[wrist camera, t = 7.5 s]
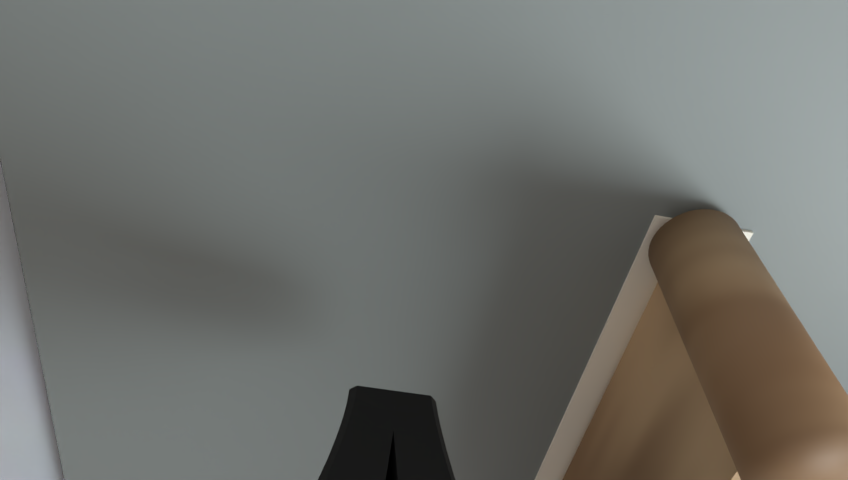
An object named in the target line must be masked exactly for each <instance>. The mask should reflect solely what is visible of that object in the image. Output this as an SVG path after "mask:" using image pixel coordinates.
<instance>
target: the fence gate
mask: <svg viewBox="0 0 848 480" xmlns="http://www.w3.org/2000/svg"><path fill="white" fill-rule="evenodd" d="M648 257H649V262H650V264H651V267H652V269H653V272H654V274H655V276H656V279H657V281H658V283H657V285H656V287H655V289H654V291H653V293H652V295H651V297H650V299H649V302H648V304H647V306H646V308H645V310H644V312H643V314H642V316H641V318H640V320H639V322H638V324H637V326H636V328H635V330H634V333H633V335H632V337H631V339H630V341H629V343H628V345H627V347H626V349H625V351H624V353H623V355H622V357H621V359H620V362H619V364H618V366H617V368H616V370H615V372H614V374H613V376H612V378H611V380H610V382H609V384H608V386H607V388H606V391H605V393H604V395H603V397H602V399H601V401H600V403H599V405H598V407H597V409H596V411H595V413H594V415H593V417H592V419H591V422H590V424H589V426H588V428H587V430H586V432H585V434H584V436H583V438H582V440H581V442H580V444H579V446H578V448H577V451H576V453H575V455H574V457H573V459H572V461H571V463H570V465H569V467H568V469H567V471H566V473H565V475H564V477H563V480H848V395H847V393H846V392H845V390H844V389H843V387H842V386H841V384H840V382H839V381H838V379H837V378H836V376H835V375H834V373H833V371H832V370H831V368H830V367H829V365H828V364H827V362H826V361H825V359H824V357H823V356H822V354H821V353H820V351H819V350H818V348H817V347H816V345H815V343H814V342H813V340H812V339H811V337H810V336H809V334H808V333H807V331H806V329H805V328H804V326H803V325H802V323H801V322H800V320H799V319H798V317H797V315H796V314H795V312H794V311H793V309H792V308H791V306H790V305H789V303H788V301H787V300H786V298H785V297H784V295H783V294H782V292H781V291H780V289H779V287H778V286H777V284H776V283H775V281H774V280H773V278H772V277H771V275H770V273H769V272H768V270H767V269H766V267H765V266H764V264H763V263H762V261H761V259H760V258H759V256H758V255H757V253H756V252H755V250H754V249H753V247H752V245H751V244H750V242H749V241H748V239H747V238H746V236H745V235H744V233H743V231H742V230H741V228H740V227H739V225H738V224H737V222H736V221H735V220H734V219H733V218H732V217H730V216H729V215H727V214H725V213H723V212H720V211H717V210H711V209H699V210H693V211H688V212H685V213H682V214H680V215H678V216H676V217H674V218H672V219H670V220H669V221H668V222H666V223H665V224H664V225H663V226H662V227H661V228H660V229H659V230H658V231H657V232H656V233H655V235H654V236H653V238H652V240H651V243H650V245H649V250H648Z"/></svg>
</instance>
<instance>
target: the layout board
mask: <svg viewBox="0 0 848 480" xmlns="http://www.w3.org/2000/svg"><path fill="white" fill-rule="evenodd" d="M0 160H1V165H2V170H3V175H4V180H5V185H6V190H7V195H8V200H9V205H10V210H11V215H12V220H13V225H14V230H15V235H16V240H17V245H18V250H19V255H20V260H21V265H22V270H23V275H24V280H25V285H26V290H27V295H28V300H29V305H30V310H31V315H32V320H33V325H34V330H35V335H36V340H37V345H38V350H39V355H40V360H41V365H42V370H43V375H44V380H45V385H46V390H47V395H48V400H49V405H50V410H51V415H52V420H53V425H54V430H55V435H56V440H57V445H58V450H59V455H60V460H61V465H62V470H63V475H64V480H318V478H319V476H320V474H321V472H322V470H323V467H324V465H325V463H326V461H327V459H328V456H329V454H330V451H331V449H332V446H333V444H334V441H335V439H336V436H337V433H338V431H339V428H340V425H341V422H342V419H343V415H344V412H345V408H346V404H347V399H348V394H349V389H351V388H353V387H355V386H364V387H371V388H379V389H386V390H393V391H401V392H408V393H415V394H422V395H430V396H432V398H433V399H434V400H435V401H436V405H437V411H438V416H439V421H440V426H441V430H442V434H443V438H444V442H445V446H446V449H447V453H448V456H449V460H450V463H451V467H452V470H453V474H454V477H455V480H563V477H564V475H565V473H566V471H567V469H568V467H569V465H570V463H571V461H572V459H573V457H574V455H575V453H576V451H577V448H578V446H579V444H580V442H581V440H582V438H583V436H584V434H585V432H586V430H587V428H588V426H589V424H590V422H591V419H592V417H593V415H594V413H595V411H596V409H597V407H598V405H599V403H600V401H601V399H602V397H603V395H604V393H605V391H606V388H607V386H608V384H609V382H610V380H611V378H612V376H613V374H614V372H615V370H616V368H617V366H618V364H619V362H620V359H621V357H622V355H623V353H624V351H625V349H626V347H627V345H628V343H629V341H630V339H631V337H632V335H633V333H634V330H635V328H636V326H637V324H638V322H639V320H640V318H641V316H642V314H643V312H644V310H645V308H646V306H647V304H648V302H649V299H650V297H651V295H652V293H653V291H654V289H655V287H656V285H657V283H658V281H657V279H656V276H655V274H654V272H653V269H652V267H651V264H650V262H649V257H648V250H649V245H650V243H651V240H652V238H653V236H654V235H655V233H656V232H657V231H658V230H659V229H660V228H661V227H662V226H663V225H664V224H665V223H666V222H668V221H669V220H670V219H672V218H674V217H676V216H678V215H680V214H682V213H685V212H688V211H693V210H699V209H711V210H717V211H720V212H723V213H725V214H727V215H729V216H730V217H732V218H733V219H734V220H735V221H736V222H737V224H738V225H739V227H740V228H741V230H742V231H743V233H744V235H745V236H746V238H747V239H748V241H749V242H750V244H751V245H752V247H753V249H754V250H755V252H756V253H757V255H758V256H759V258H760V259H761V261H762V263H763V264H764V266H765V267H766V269H767V270H768V272H769V273H770V275H771V277H772V278H773V280H774V281H775V283H776V284H777V286H778V287H779V289H780V291H781V292H782V294H783V295H784V297H785V298H786V300H787V301H788V303H789V305H790V306H791V308H792V309H793V311H794V312H795V314H796V315H797V317H798V319H799V320H800V322H801V323H802V325H803V326H804V328H805V329H806V331H807V333H808V334H809V336H810V337H811V339H812V340H813V342H814V343H815V345H816V347H817V348H818V350H819V351H820V353H821V354H822V356H823V357H824V359H825V361H826V362H827V364H828V365H829V367H830V368H831V370H832V371H833V373H834V375H835V376H836V378H837V379H838V381H839V382H840V384H841V386H842V387H843V389H844V390H845V392H846V393H847V395H848V0H0Z"/></svg>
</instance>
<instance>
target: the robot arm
mask: <svg viewBox="0 0 848 480" xmlns="http://www.w3.org/2000/svg"><path fill="white" fill-rule="evenodd" d="M318 480H455V477H454V474H453V470H452V467H451V463H450V460H449V456H448V453H447V449H446V446H445V442H444V438H443V434H442V430H441V426H440V421H439V416H438V411H437V405H436V401H435V400H434V399H433V398H432V396H430V395H422V394H415V393H408V392H401V391H393V390H386V389H379V388H371V387H364V386H355V387H353V388H351V389H349V394H348V399H347V404H346V408H345V412H344V415H343V419H342V422H341V425H340V428H339V431H338V433H337V436H336V439H335V441H334V444H333V446H332V449H331V451H330V454H329V456H328V459H327V461H326V463H325V465H324V467H323V470H322V472H321V474H320V476H319V478H318Z"/></svg>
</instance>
